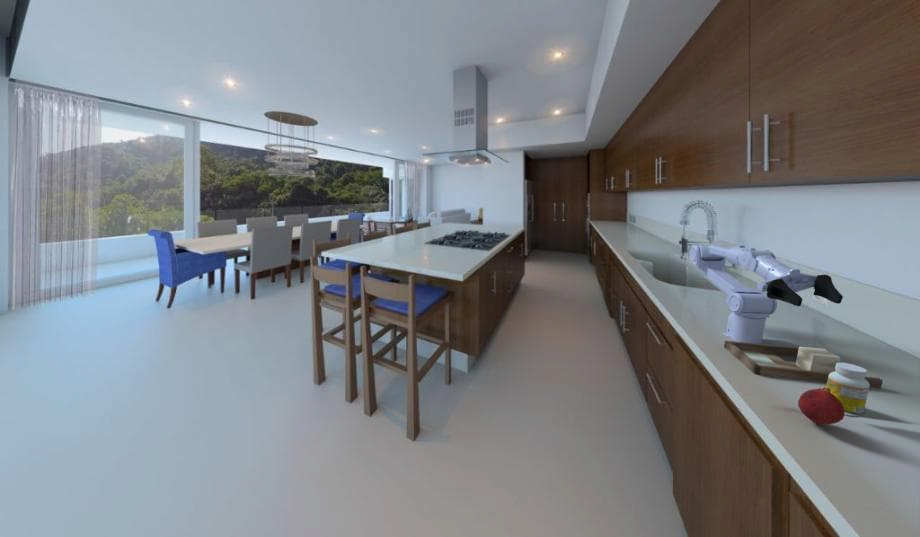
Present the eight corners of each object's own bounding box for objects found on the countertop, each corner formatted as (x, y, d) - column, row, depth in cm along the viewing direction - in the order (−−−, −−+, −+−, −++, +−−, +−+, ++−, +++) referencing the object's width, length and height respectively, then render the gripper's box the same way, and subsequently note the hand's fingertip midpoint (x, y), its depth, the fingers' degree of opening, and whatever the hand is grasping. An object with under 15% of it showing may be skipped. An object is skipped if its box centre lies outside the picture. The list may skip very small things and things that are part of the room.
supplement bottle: (865, 422, 62) (877, 376, 60) (824, 411, 65) (834, 368, 64) (858, 408, 66) (868, 366, 64) (820, 399, 69) (828, 358, 68)
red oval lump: (803, 428, 60) (811, 390, 59) (790, 411, 65) (797, 375, 64) (847, 438, 58) (856, 398, 56) (830, 419, 63) (838, 382, 61)
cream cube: (795, 364, 82) (799, 346, 82) (820, 367, 81) (824, 348, 80) (809, 374, 78) (813, 355, 77) (836, 377, 76) (840, 357, 75)
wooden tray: (723, 350, 94) (725, 340, 93) (825, 360, 86) (827, 350, 86) (753, 377, 79) (755, 366, 78) (879, 392, 72) (882, 380, 71)
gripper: (749, 264, 87) (786, 289, 75) (814, 258, 83) (864, 283, 72) (745, 286, 90) (780, 314, 78) (807, 281, 86) (854, 309, 75)
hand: (819, 301), depth 75 cm, fingers open, 7 cm apart
